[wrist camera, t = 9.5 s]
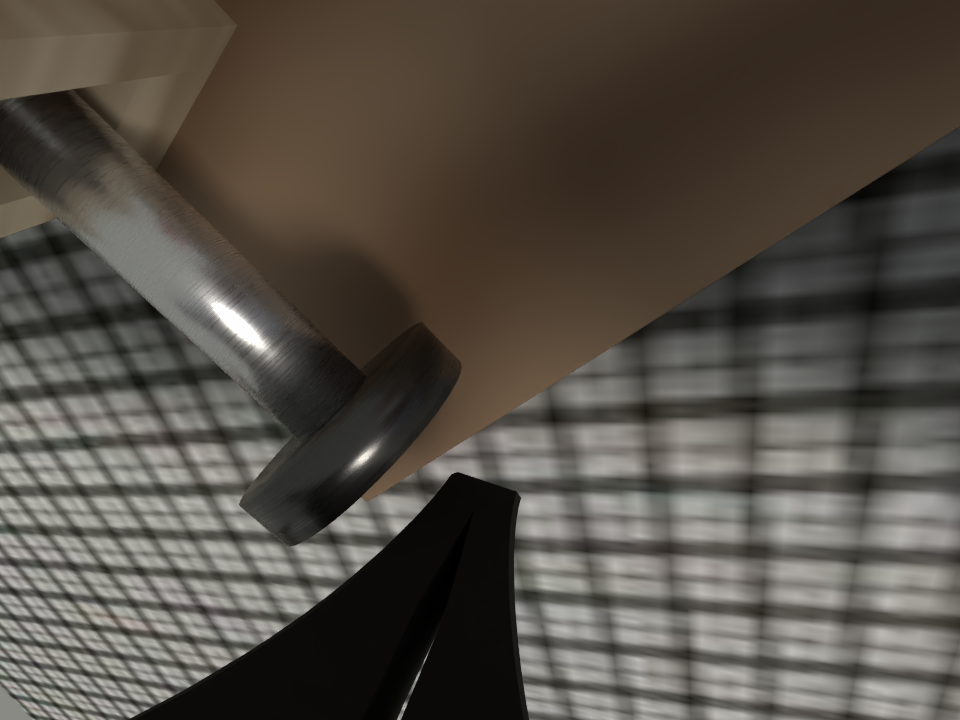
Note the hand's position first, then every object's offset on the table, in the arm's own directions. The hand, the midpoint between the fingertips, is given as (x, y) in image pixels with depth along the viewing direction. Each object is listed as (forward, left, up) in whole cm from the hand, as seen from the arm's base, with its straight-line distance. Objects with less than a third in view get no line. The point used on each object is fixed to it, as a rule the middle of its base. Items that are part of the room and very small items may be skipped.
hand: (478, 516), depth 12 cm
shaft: (+7, 0, -2) cm, 7 cm away
